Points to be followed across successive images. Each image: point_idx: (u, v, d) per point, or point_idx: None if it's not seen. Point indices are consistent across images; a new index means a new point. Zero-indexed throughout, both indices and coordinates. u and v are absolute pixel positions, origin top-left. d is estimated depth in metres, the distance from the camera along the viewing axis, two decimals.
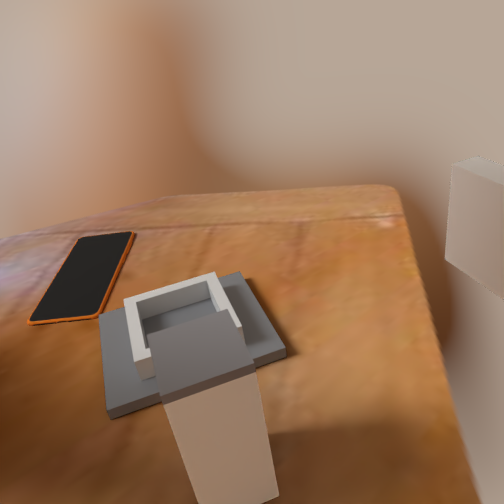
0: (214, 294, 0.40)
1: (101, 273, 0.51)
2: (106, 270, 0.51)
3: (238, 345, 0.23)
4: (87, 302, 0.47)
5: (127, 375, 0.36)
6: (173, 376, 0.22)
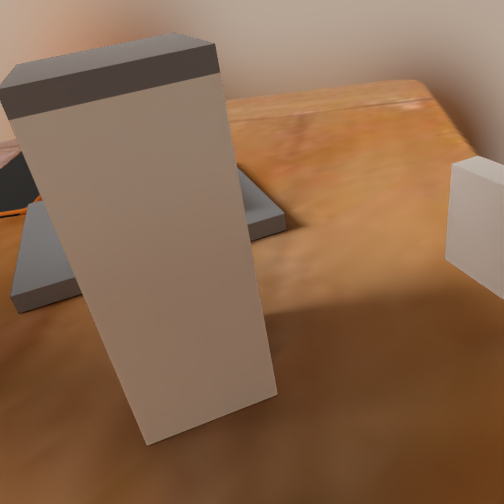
0: None
1: None
2: None
3: (186, 42, 0.11)
4: (19, 198, 0.35)
5: (51, 257, 0.24)
6: (39, 75, 0.10)
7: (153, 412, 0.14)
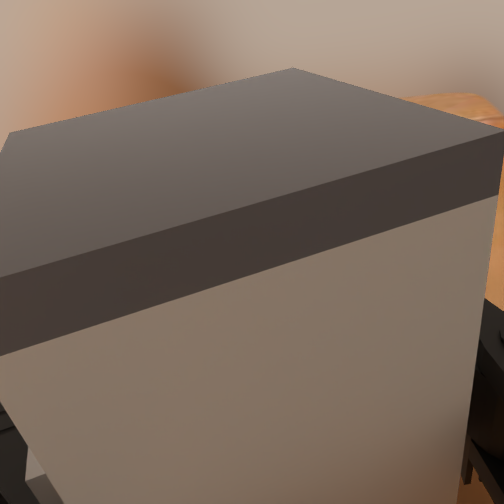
0: None
1: None
2: None
3: (378, 106, 0.05)
4: None
5: None
6: (60, 210, 0.04)
7: None
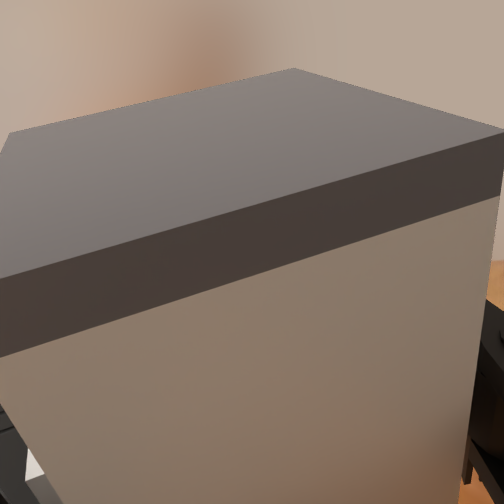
0: None
1: None
2: None
3: (380, 107, 0.05)
4: None
5: None
6: (60, 211, 0.04)
7: None
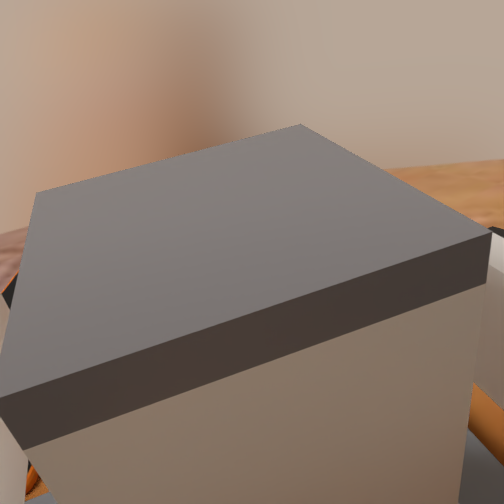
0: None
1: None
2: None
3: (379, 188, 0.05)
4: None
5: None
6: (92, 302, 0.04)
7: None
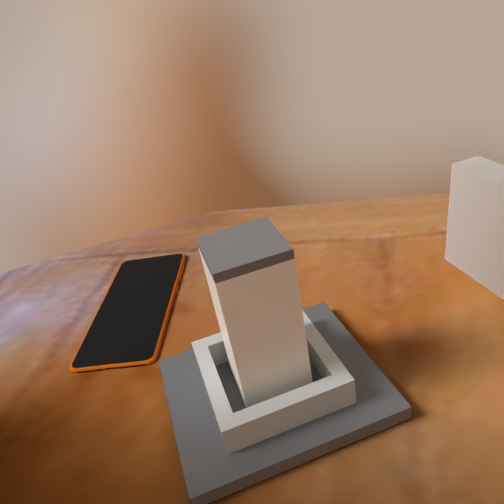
0: (306, 335, 0.32)
1: (152, 305, 0.43)
2: (158, 302, 0.43)
3: (278, 239, 0.26)
4: (139, 343, 0.39)
5: (208, 446, 0.28)
6: (222, 261, 0.25)
7: (254, 400, 0.29)
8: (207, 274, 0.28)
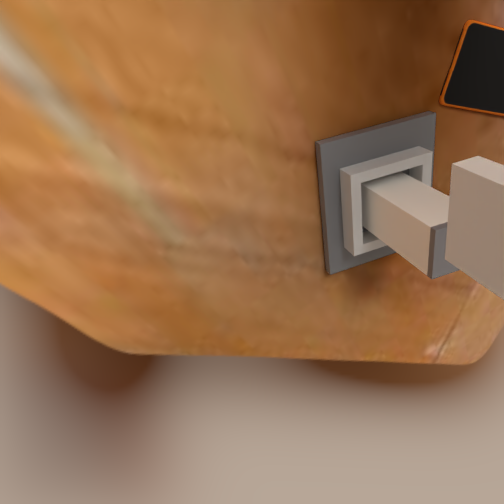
0: None
1: None
2: None
3: (447, 270, 0.37)
4: (465, 88, 0.44)
5: (349, 156, 0.42)
6: (445, 236, 0.36)
7: (367, 192, 0.43)
8: None
